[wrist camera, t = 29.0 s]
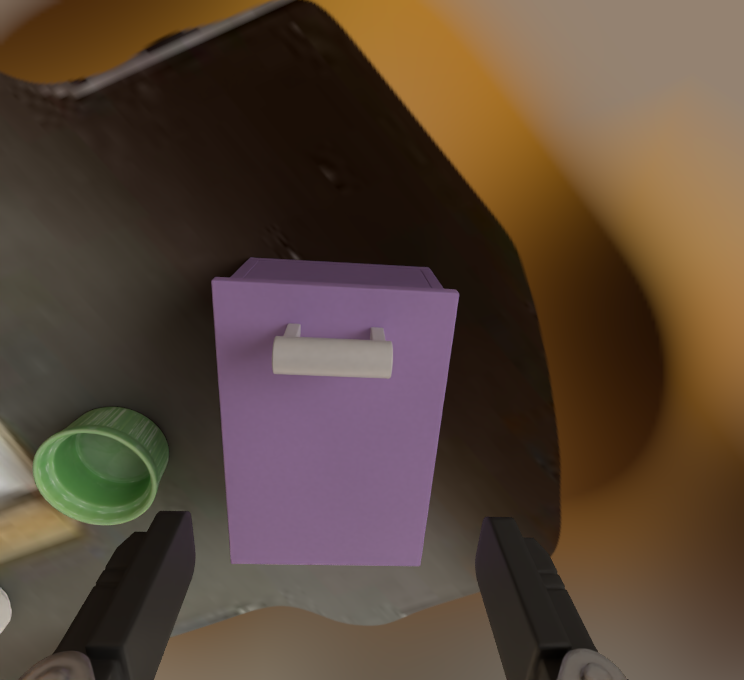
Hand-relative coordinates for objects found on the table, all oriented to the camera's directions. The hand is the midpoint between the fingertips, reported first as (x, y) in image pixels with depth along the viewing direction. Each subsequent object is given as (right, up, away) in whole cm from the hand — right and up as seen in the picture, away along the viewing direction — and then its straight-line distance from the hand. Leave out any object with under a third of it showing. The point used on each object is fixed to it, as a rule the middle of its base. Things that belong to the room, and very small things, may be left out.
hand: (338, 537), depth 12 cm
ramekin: (-20, -3, +26) cm, 33 cm away
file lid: (-2, -1, +16) cm, 16 cm away
